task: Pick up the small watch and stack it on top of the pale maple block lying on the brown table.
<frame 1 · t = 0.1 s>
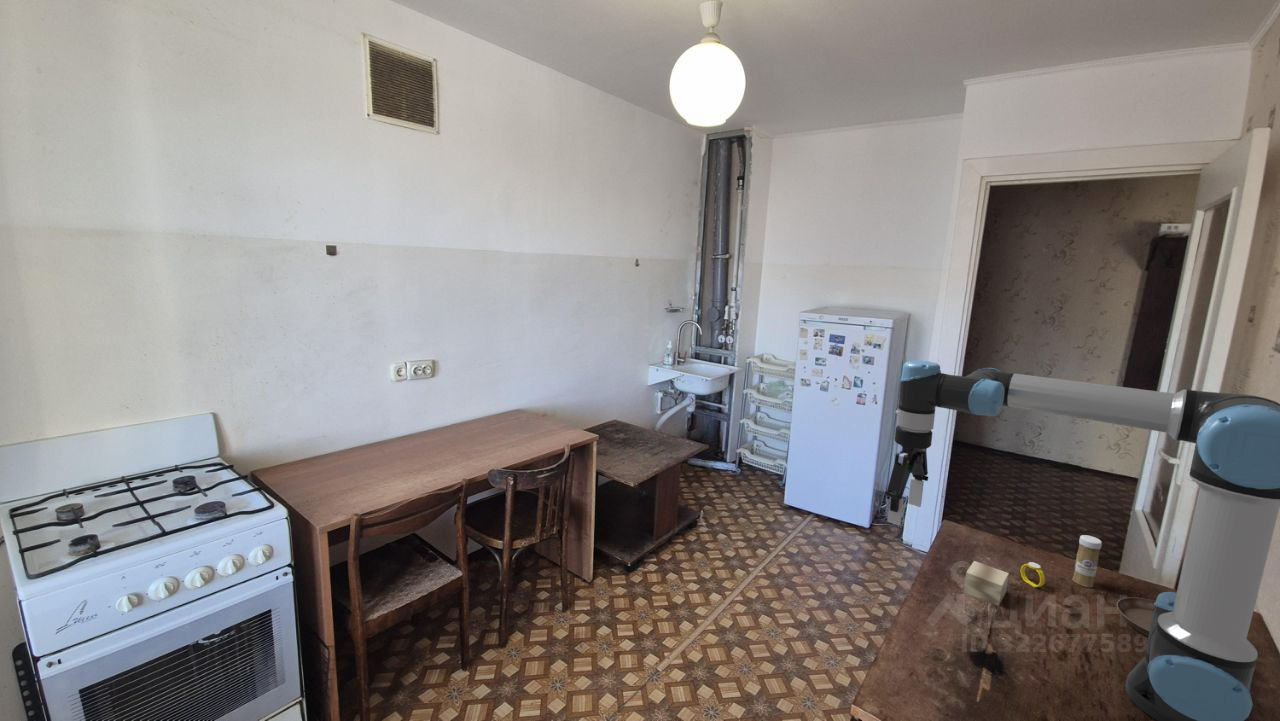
hand: (904, 513, 122), 28 cm above the table, fingers open, 13 cm apart
sprinkles bottle: (1082, 583, 143), on the table
maple block: (984, 593, 138), on the table
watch: (1030, 584, 142), on the table
plant saucer: (1163, 631, 125), on the table
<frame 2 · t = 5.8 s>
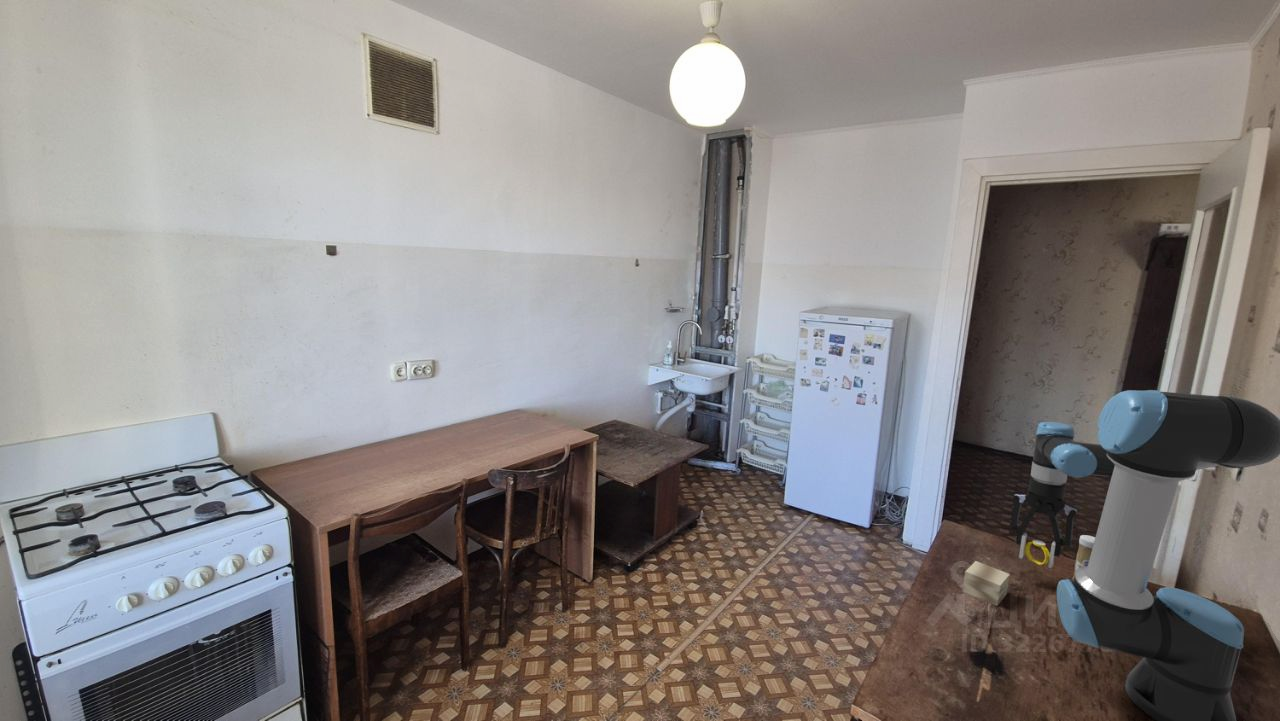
hand: (1035, 560, 140), 7 cm above the table, fingers closed on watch, 6 cm apart
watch: (1035, 562, 140), point 7 cm above the table, touching gripper
everything else where it was.
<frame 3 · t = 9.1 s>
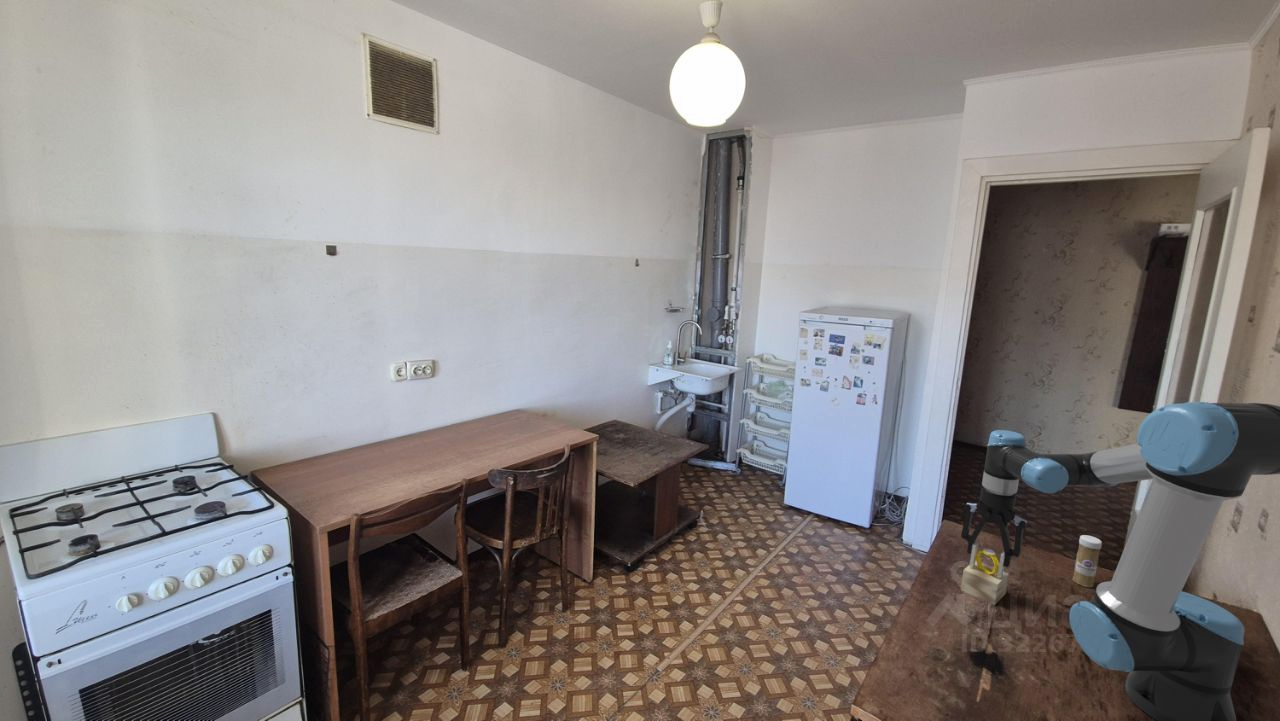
hand: (985, 570, 137), 6 cm above the table, fingers closed on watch, 6 cm apart
maple block: (983, 592, 138), on the table, touching gripper, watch
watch: (985, 571, 137), point 6 cm above the table, touching gripper, maple block
everything else where it was.
when the fingers open (6 cm above the table, at t = 9.2 s): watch stays where it is, resting on maple block.
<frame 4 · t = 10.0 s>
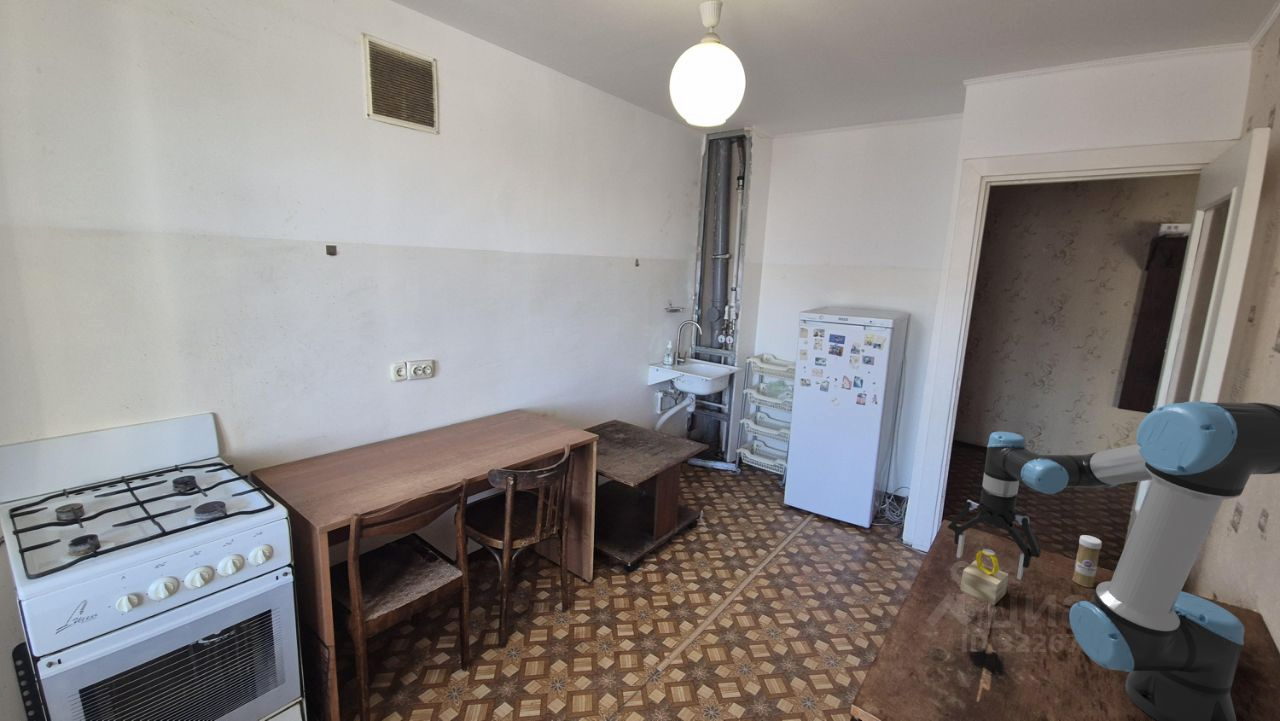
hand: (988, 566, 137), 8 cm above the table, fingers open, 13 cm apart
maple block: (982, 592, 138), on the table, touching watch
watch: (985, 572, 138), point 6 cm above the table, touching maple block
everything else where it was.
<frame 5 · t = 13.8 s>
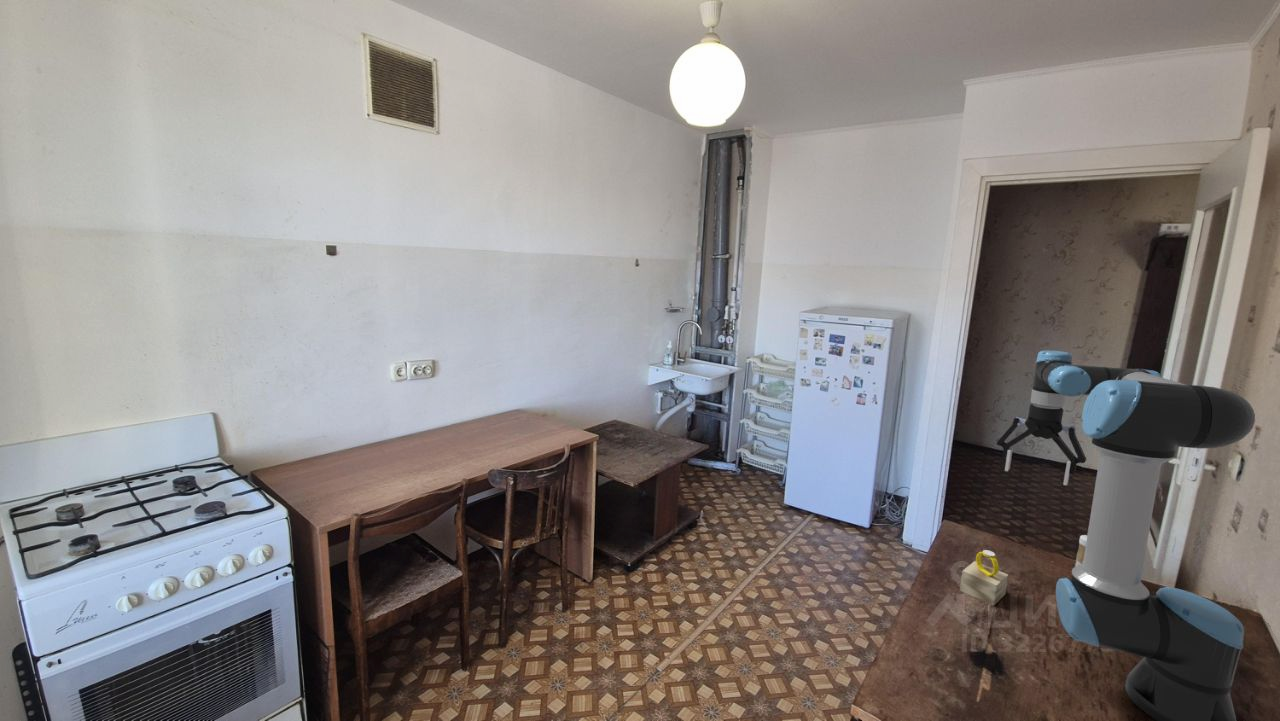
hand: (1035, 476, 148), 27 cm above the table, fingers open, 13 cm apart
nothing on the table moved.
at the end: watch inside the target area on the maple block (0.1 cm from its centre), point 5.8 cm above the maple block's base; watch tilted 2°; the gripper is holding nothing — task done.
